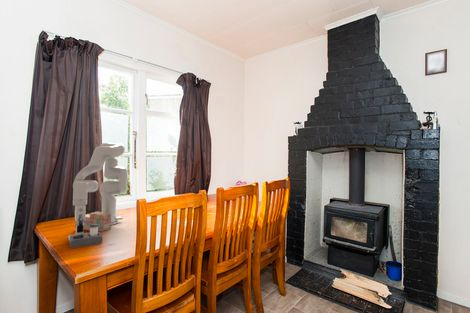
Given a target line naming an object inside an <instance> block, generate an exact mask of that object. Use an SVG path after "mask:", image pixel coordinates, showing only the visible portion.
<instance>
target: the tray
mask: <svg viewBox="0 0 470 313" xmlns="http://www.w3.org/2000/svg"><path fill="white" fill-rule="evenodd" d="M87 233H88V232H85V233H84V232H83V234H87ZM74 235H75V234H70V235H68V237H67V238H68V241H69V242H70V236H74Z"/></svg>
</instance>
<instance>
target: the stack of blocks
mask: <svg viewBox="0 0 470 313" xmlns="http://www.w3.org/2000/svg"><path fill="white" fill-rule="evenodd" d="M94 223H97V224H98V232H105V231H108V230H111V228H112V225H111V213H106V212H102V211H94V212H93V211H92V212H90V213H87V214H86V221H84V230H85V231H87V230H88V231H90V224H94Z"/></svg>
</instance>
